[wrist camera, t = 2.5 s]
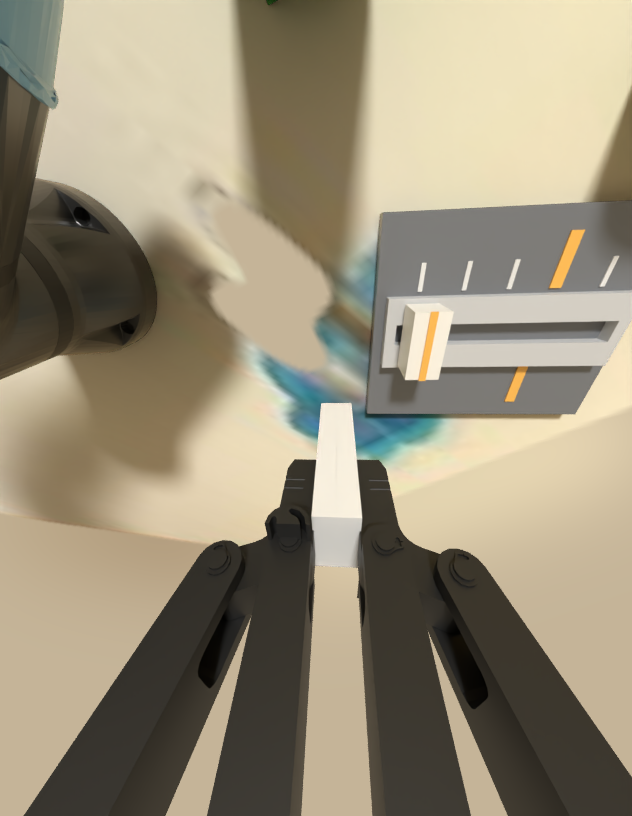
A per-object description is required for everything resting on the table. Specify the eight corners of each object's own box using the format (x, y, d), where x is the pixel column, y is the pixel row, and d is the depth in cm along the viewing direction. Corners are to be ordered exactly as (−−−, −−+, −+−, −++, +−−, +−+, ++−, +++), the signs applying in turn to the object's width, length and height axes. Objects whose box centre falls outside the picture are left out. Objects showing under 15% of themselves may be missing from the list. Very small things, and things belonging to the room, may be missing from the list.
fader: (394, 360, 29) (405, 381, 25) (402, 300, 25) (415, 312, 21) (423, 360, 28) (438, 381, 24) (434, 299, 25) (454, 311, 21)
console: (365, 407, 34) (368, 419, 32) (380, 214, 23) (385, 211, 21) (565, 407, 32) (583, 419, 30) (678, 199, 22) (718, 194, 19)
